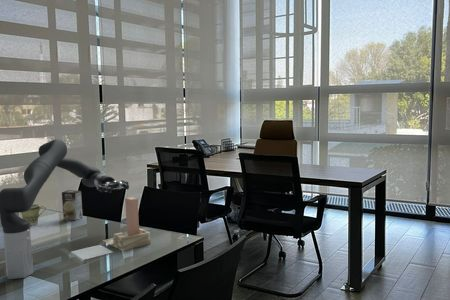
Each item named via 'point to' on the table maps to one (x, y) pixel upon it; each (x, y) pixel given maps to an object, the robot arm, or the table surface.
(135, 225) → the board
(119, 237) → the offcut stack
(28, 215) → the ceramic cup
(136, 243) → the rack
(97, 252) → the mat
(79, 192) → the coffee box
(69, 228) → the table surface
